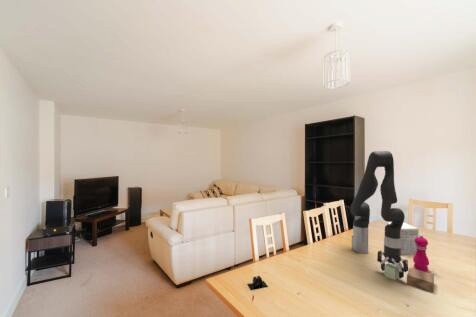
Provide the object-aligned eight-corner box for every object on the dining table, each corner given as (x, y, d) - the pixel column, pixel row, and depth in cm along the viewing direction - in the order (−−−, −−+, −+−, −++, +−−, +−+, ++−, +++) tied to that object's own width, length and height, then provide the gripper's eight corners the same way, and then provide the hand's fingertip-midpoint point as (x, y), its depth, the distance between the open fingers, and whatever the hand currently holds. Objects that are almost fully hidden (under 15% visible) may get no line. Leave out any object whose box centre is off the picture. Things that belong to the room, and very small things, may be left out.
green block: (384, 275, 123) (384, 265, 122) (389, 273, 125) (389, 262, 125) (394, 280, 118) (394, 269, 118) (399, 277, 121) (399, 266, 121)
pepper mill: (422, 272, 125) (423, 237, 125) (409, 266, 132) (410, 233, 132) (432, 270, 127) (432, 236, 126) (418, 264, 134) (419, 231, 133)
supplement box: (419, 254, 147) (419, 228, 146) (398, 254, 147) (399, 228, 146) (404, 246, 160) (404, 222, 159) (385, 246, 160) (386, 222, 160)
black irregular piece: (265, 280, 120) (265, 272, 120) (271, 288, 113) (271, 279, 113) (243, 284, 116) (243, 276, 116) (248, 293, 109) (248, 284, 109)
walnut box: (406, 284, 115) (407, 275, 115) (409, 276, 122) (409, 267, 122) (432, 292, 108) (432, 282, 108) (433, 283, 115) (433, 274, 115)
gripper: (374, 241, 125) (374, 270, 126) (404, 251, 113) (403, 282, 114) (381, 239, 129) (381, 266, 130) (410, 247, 117) (410, 278, 118)
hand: (391, 274), depth 122 cm, fingers open, 8 cm apart
